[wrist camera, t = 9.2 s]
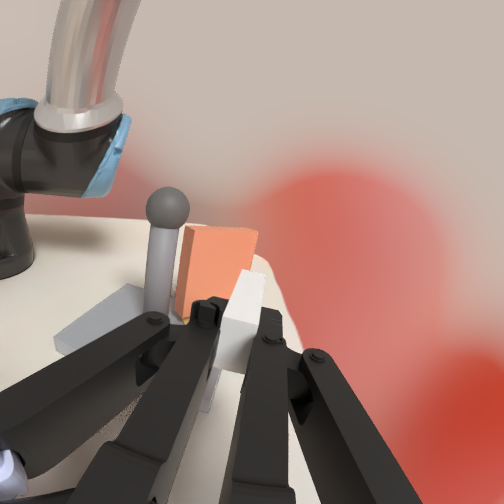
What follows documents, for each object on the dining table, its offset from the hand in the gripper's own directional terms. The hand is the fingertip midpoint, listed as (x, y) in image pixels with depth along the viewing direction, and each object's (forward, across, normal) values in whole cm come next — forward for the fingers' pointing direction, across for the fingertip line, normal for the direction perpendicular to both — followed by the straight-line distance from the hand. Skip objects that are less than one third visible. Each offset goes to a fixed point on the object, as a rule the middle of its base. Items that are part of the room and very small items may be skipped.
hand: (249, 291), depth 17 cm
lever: (+8, -5, -7) cm, 12 cm away
